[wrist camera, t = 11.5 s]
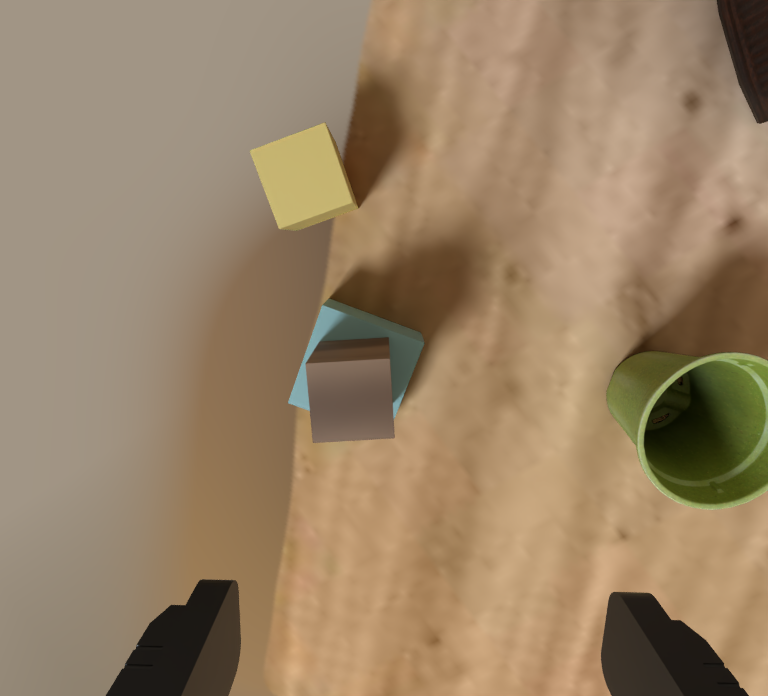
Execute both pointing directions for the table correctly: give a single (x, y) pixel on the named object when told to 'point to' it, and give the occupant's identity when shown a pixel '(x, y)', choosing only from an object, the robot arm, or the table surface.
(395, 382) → the teal plinth block
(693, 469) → the plant pot
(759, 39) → the dark brown ornament
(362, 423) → the walnut block
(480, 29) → the table surface
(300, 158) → the mustard block
